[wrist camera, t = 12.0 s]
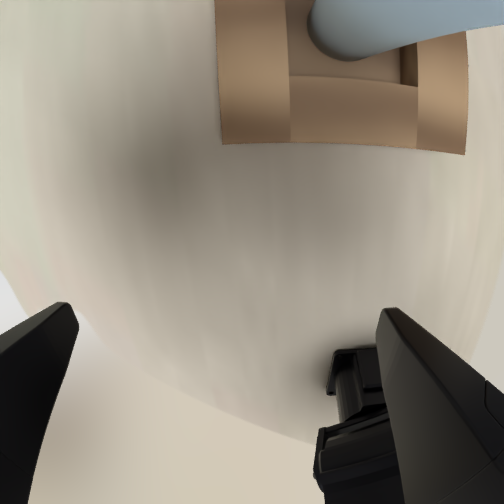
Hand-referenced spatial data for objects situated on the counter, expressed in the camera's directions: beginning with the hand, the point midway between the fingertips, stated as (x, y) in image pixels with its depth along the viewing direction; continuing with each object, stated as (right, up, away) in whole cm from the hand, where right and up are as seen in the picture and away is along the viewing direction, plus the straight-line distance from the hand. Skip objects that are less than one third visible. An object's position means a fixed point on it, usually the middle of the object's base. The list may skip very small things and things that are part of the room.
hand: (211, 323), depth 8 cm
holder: (+6, +15, +6) cm, 17 cm away
